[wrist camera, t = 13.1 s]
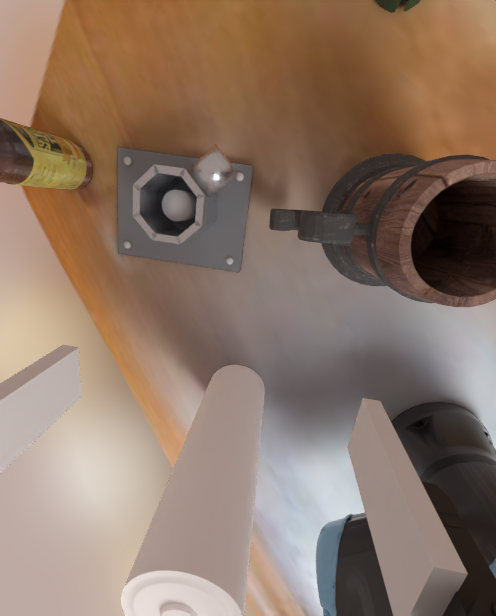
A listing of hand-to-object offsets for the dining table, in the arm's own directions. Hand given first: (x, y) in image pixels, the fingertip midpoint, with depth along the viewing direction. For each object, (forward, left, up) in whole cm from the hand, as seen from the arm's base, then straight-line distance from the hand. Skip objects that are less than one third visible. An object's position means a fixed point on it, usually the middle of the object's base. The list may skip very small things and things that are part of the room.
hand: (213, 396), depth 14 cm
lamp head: (+9, -8, -31) cm, 33 cm away
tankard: (-12, -8, -32) cm, 35 cm away
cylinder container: (+1, +21, -32) cm, 38 cm away
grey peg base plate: (+12, -6, -32) cm, 34 cm away
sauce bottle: (+28, -10, -32) cm, 43 cm away
